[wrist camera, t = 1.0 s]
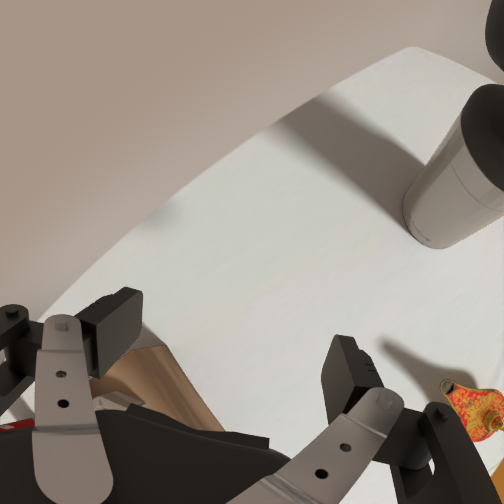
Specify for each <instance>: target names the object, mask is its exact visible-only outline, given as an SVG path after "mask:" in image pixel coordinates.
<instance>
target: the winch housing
mask: <svg viewBox="0 0 504 504" xmlns="http://www.w3.org/2000/svg"><path fill="white" fill-rule="evenodd" d="M89 385H90V391H91V396H92V401H93V406H94V411H96V410H105V409H115V410H124V411H126V410H127V408H128V407H129V405H130V404H131V403H134V404H137V405H140V406H143V407H145V408H148V409H151V410H154V411H157V412H161V413H163V414H165V415H167V416H169V417H171V418H173V419H175V420H177V421H179V422H181V423H183V424H185V425H187V426H189V427H191V428H193V429H196V430H206V431H225V430H224V428H223V427H222V426H221V424H220V423H219V422H218V420H217V419H216V418H215V416H214V415H213V414H212V412H211V411H210V410H209V408H208V407H207V405H206V404H205V403H204V401H203V400H202V398H201V397H200V395H199V394H198V393H197V391H196V390H195V388H194V387H193V385H192V384H191V382H190V381H189V379H188V378H187V376H186V375H185V373H184V372H183V370H182V369H181V367H180V366H179V364H178V363H177V361H176V360H175V358H174V356H173V355H172V353H171V352H170V350H169V348H168V347H167V345H161V346H155V347H148V348H141V349H134V350H131V351H130V352H129V353H127V354H126V355H124V356H123V357H122V358H120V359H119V360H117V361H116V362H115V363H114V365H113V366H112V367H111V368H110V369H109V370H108V371H107V373H106V374H105V375H104V376H103V377H102V378H101V379H100V380H99V379H97V378H95V377H94V378H92V379H91V380H89Z"/></svg>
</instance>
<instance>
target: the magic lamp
mask: <svg viewBox="0 0 504 504" xmlns="http://www.w3.org/2000/svg"><path fill="white" fill-rule="evenodd" d="M440 391H441V392H442V394H443V395H444V396H445V397H446V398H447V399H448V401H449V403H450V405H451V407H452V409H454V410H455V412H456V413H457V415H458V416H459V418H460V420H461V422H462V423H463V425H464V427H465V429H466V431H467V432H468V434H469V436H470V438H471V440H472V442H480V441H483V440H485V439H487V438H489V437H490V436H491V435H492V434H493V433H494V432H495V431H496V430H497V431H498V430H499V429H500V430H502V431H504V423H503V422H504V420H503V418H504V396H503V395H502V394H501V392H499V391H498V390H496V389H473V388H468V387H464V386H461V385H459V384H457V383H456V382H454V381H452V380H449V379H447V380H444V381H442V382H441V383H440ZM502 420H503V421H502ZM497 431H496V432H497Z"/></svg>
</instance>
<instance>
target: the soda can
mask: <svg viewBox="0 0 504 504" xmlns="http://www.w3.org/2000/svg"><path fill="white" fill-rule="evenodd" d="M31 426H35V419H32V418H29V419H25V420H21V421H16V422H12V423H7V424H3V425H0V432H6V431H11V430H16V429H21V428H26V427H31Z"/></svg>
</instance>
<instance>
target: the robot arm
mask: <svg viewBox="0 0 504 504" xmlns="http://www.w3.org/2000/svg"><path fill="white" fill-rule="evenodd" d="M485 40H486V46H487V49H488V52H489V55H490V57H491V58H492V60H493V61H494V62H495V63H496V64H497V65H498V66H499V67H500V68H501V69H502V70H503V71H504V0H492V2H491V5H490V9H489V13H488V16H487V22H486V29H485ZM403 215H404V220H405V222H406V225H407V227H408V229H409V230H410V232H411V234H412V235H413V236H414V237H415V238H416V239H417V240H418V241H419V242H421V243H422V244H423V245H425V246H428V247H430V248H434V249H444V248H448V247H450V246H452V245H454V244H456V243H457V242H459V241H461V240H463V239H465V238H467V237H468V236H470V235H472V234H474V233H475V232H477V231H479V230H481V229H482V228H484V227H486V226H487V225H489V224H491V223H492V222H494V221H496V220H497V219H499V218H501V217H502V216H504V86H503V85H498V84H487V85H483V86H481V87H479V88H478V89H476V90H475V91H474V92H473V94H472V95H471V96H470V98H469V99H468V101H467V103H466V104H465V106H464V108H463V109H462V111H461V112H460V114H459V116H458V117H457V119H456V120H455V122H454V124H453V125H452V127H451V129H450V130H449V132H448V133H447V135H446V136H445V138H444V139H443V141H442V142H441V144H440V145H439V147H438V148H437V150H436V151H435V153H434V154H433V155H432V157H431V158H430V160H429V161H428V163H427V164H426V166H425V167H424V168H423V170H422V171H421V173H420V174H419V175H418V177H417V178H416V179H415V181H414V182H413V184H412V185H411V186H410V188H409V189H408V191H407V192H406V194H405V197H404V200H403ZM142 307H143V293H142V291H139V290H136V289H132V288H129V287H124V288H122V289H121V290H119V291H118V292H116V293H115V294H111V295H107V296H103V297H101V298H100V299H98V300H97V301H95V303H92V304H91V305H89V306H88V307H86V308H85V309H83V310H82V311H80V312H79V313H78V314H76V315H75V316H71V315H66V314H58V315H53V316H51V317H49V318H47V319H46V320H45V322H44V323H39V322H34V321H30V320H29V313H28V309H26V308H25V307H24V306H21V305H16V304H11V305H5V306H3V307H1V308H0V351H1V350H2V349H4V353H5V357H6V361H5V362H4V363H2V364H1V365H0V416H1V415H2V414H3V413H4V412H5V411H6V410H7V409H8V408H9V407H10V406H11V405H12V404H13V403H14V402H15V401H16V399H17V398H18V397H19V396H20V395H21V394H22V393H23V392H24V391H25V390H26V389H27V388H28V387H29V386H30V385H31V384H32V383H33V382H34V381H35V426H31V427H26V428H21V429H16V430H11V431H6V432H0V504H339V502H340V501H341V500H342V499H343V498H344V496H345V495H346V494H347V493H348V491H349V490H350V489H351V488H352V486H353V485H354V484H355V482H356V481H357V480H358V478H359V477H360V476H361V474H362V473H363V472H364V470H365V469H366V467H367V466H368V464H369V463H370V462H371V460H373V461H377V462H381V463H385V464H389V465H390V469H391V474H392V478H393V483H394V487H395V492H396V497H397V502H398V504H502V503H501V500H500V498H499V495H498V493H497V491H496V489H495V486H494V484H493V482H492V480H491V478H490V476H489V474H488V471H487V469H486V467H485V465H484V463H483V461H482V459H481V457H480V455H479V453H478V451H477V449H476V448H475V446H474V444H473V442H472V440H471V438H470V436H469V434H468V432H467V431H466V429H465V427H464V425H463V423H462V422H461V420H460V418H459V416H458V415H457V413H456V412H455V410H454V409H452V408H451V407H450V406H448V405H446V404H444V403H440V402H431V403H429V404H427V405H426V407H425V409H424V410H423V412H419V411H415V410H411V409H407V408H404V401H403V399H402V398H401V397H400V396H399V395H398V394H397V393H396V392H394V391H392V390H390V389H387V388H385V387H384V385H383V383H382V381H381V378H380V376H379V374H378V372H377V370H376V368H375V366H374V363H373V361H372V359H371V357H370V356H369V355H368V354H367V353H366V352H364V351H363V350H359V348H358V346H357V344H356V341H355V339H354V337H350V336H343V335H337V334H336V335H335V336H334V338H333V340H332V343H331V346H330V348H329V351H328V354H327V357H326V360H325V362H324V365H323V368H322V373H321V383H322V388H323V394H324V400H325V406H326V412H327V418H328V424H329V426H328V427H327V428H326V429H325V430H324V431H323V432H322V433H321V434H320V435H319V436H317V437H316V438H315V439H314V440H313V441H312V442H311V443H310V444H309V445H308V446H307V447H305V448H304V449H303V450H302V451H301V452H300V453H299V454H297V455H296V456H295V457H294V458H293V459H290V458H289V457H287V456H285V455H284V454H282V453H280V452H278V451H275V450H273V449H270V448H269V438H265V437H259V436H254V435H248V434H243V433H238V432H226V431H206V430H196V429H193V428H191V427H189V426H187V425H185V424H183V423H181V422H179V421H177V420H175V419H173V418H171V417H169V416H167V415H165V414H163V413H161V412H157V411H154V410H151V409H148V408H145V407H143V406H140V405H137V404H134V403H131V404H130V405H129V407H128V408H127V410H126V411H124V410H115V409H105V410H96V411H94V406H93V401H92V396H91V391H90V385H89V379H88V376H89V375H90V376H92V377H95V378H97V379H99V380H100V379H101V378H102V377H103V376H104V375H105V374H106V373H107V371H108V370H109V369H110V368H111V367H112V366H113V365H114V363H115V362H116V361H117V360H118V359H119V358H120V357H121V356H122V354H123V353H124V352H125V351H126V350H127V349H128V348H129V347H130V346H131V344H132V343H133V342H134V341H135V340H136V339H137V338H138V336H139V334H140V331H141V325H142ZM431 458H432V459H433V462H434V465H435V470H434V474H433V475H432V472H431V469H430V466H429V463H428V462H429V461H430V460H431Z"/></svg>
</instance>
